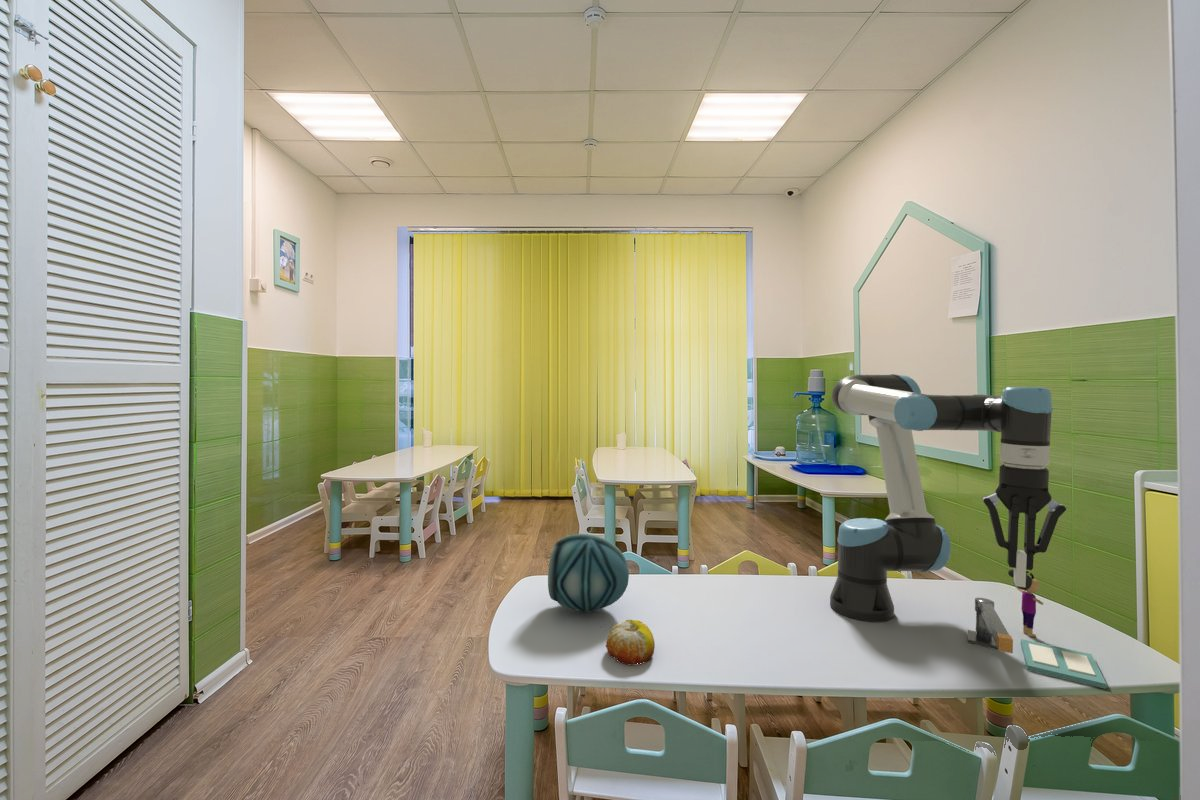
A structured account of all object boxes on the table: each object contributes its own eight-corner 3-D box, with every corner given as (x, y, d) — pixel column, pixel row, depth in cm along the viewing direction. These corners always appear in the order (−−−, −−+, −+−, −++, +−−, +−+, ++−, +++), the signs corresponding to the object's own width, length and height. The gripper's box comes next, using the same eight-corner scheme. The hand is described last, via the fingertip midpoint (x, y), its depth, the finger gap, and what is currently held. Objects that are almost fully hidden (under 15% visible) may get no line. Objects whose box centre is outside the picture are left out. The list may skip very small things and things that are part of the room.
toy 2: (1051, 646, 119) (1052, 580, 119) (1023, 643, 120) (1025, 578, 120) (1023, 625, 129) (1025, 565, 129) (998, 623, 130) (1000, 563, 130)
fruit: (603, 639, 120) (614, 606, 120) (647, 653, 120) (657, 620, 120) (602, 664, 109) (614, 627, 109) (650, 680, 109) (662, 643, 109)
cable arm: (973, 607, 123) (973, 596, 123) (992, 610, 122) (992, 599, 122) (994, 649, 103) (994, 636, 103) (1017, 654, 102) (1017, 640, 102)
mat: (1027, 669, 109) (1027, 663, 109) (1020, 643, 120) (1020, 637, 120) (1106, 689, 102) (1106, 682, 102) (1091, 658, 114) (1091, 652, 114)
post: (967, 643, 120) (968, 614, 120) (967, 633, 125) (968, 605, 125) (1000, 650, 117) (1001, 621, 117) (999, 639, 122) (999, 611, 122)
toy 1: (560, 594, 147) (560, 523, 147) (631, 598, 144) (631, 526, 144) (544, 624, 129) (544, 543, 128) (625, 629, 126) (625, 547, 125)
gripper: (985, 465, 102) (981, 584, 103) (1073, 471, 96) (1067, 598, 97) (980, 460, 109) (976, 572, 110) (1062, 465, 102) (1057, 584, 103)
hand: (1019, 584), depth 103 cm, fingers closed
